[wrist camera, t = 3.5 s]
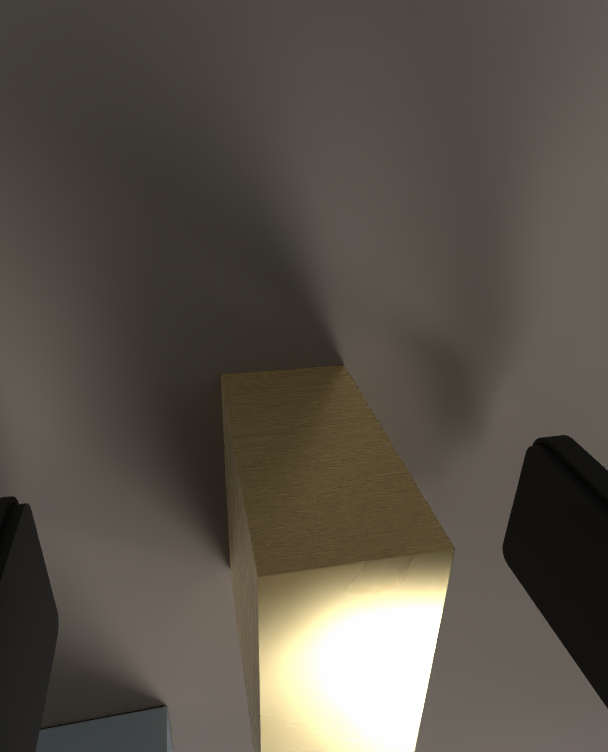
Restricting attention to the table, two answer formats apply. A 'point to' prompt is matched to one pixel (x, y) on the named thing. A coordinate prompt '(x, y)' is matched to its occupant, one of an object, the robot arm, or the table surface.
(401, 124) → the table surface
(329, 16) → the table surface
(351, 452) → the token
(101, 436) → the table surface
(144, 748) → the box
